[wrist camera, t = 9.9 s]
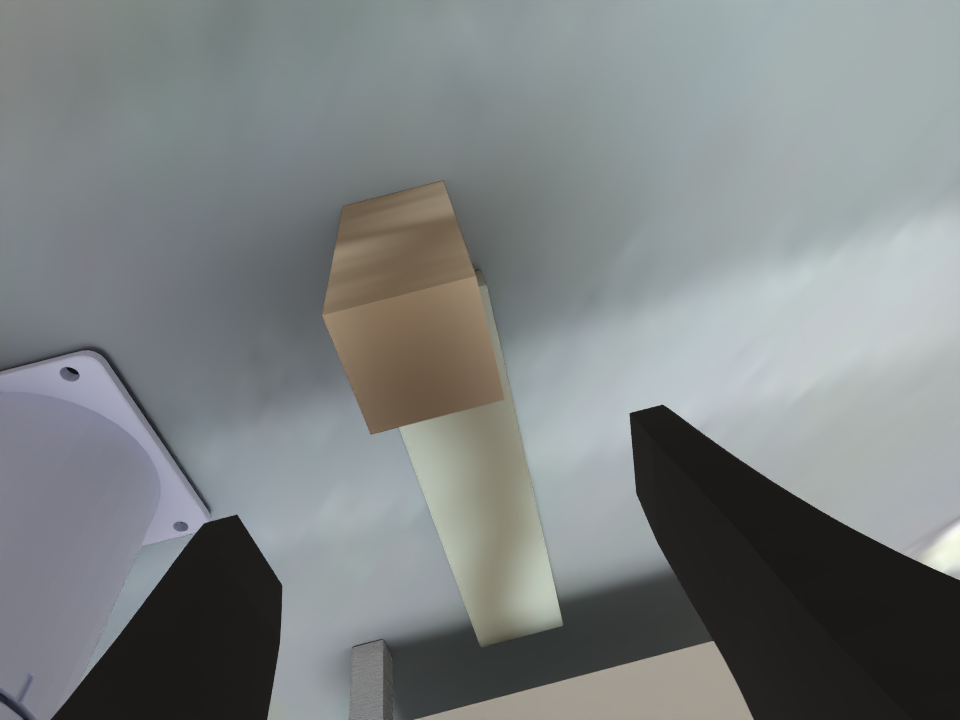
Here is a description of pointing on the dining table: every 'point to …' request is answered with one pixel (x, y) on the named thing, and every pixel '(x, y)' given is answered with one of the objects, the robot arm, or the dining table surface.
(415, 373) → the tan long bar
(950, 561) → the dining table surface
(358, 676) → the cream toy bench
